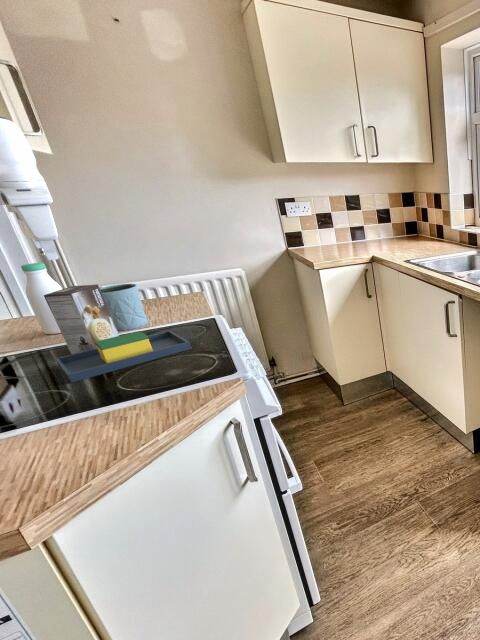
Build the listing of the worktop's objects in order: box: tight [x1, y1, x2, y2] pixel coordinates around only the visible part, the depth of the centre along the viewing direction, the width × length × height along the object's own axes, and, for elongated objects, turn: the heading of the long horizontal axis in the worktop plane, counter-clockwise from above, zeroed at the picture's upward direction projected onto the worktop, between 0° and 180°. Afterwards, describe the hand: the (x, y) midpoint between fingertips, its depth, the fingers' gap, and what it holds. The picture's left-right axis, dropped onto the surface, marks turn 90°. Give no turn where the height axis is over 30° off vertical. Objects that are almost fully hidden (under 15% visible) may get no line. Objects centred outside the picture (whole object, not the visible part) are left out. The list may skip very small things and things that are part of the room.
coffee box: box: [44, 283, 120, 355], centre depth 110 cm, size 9×6×16 cm
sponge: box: [95, 330, 153, 363], centre depth 106 cm, size 9×6×4 cm, turn 143°
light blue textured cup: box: [99, 283, 149, 332], centre depth 126 cm, size 10×10×12 cm
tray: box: [54, 330, 192, 384], centre depth 106 cm, size 23×15×2 cm, turn 143°
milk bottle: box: [20, 262, 63, 335], centre depth 123 cm, size 8×8×20 cm
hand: (49, 257), depth 99 cm, fingers open, 8 cm apart
